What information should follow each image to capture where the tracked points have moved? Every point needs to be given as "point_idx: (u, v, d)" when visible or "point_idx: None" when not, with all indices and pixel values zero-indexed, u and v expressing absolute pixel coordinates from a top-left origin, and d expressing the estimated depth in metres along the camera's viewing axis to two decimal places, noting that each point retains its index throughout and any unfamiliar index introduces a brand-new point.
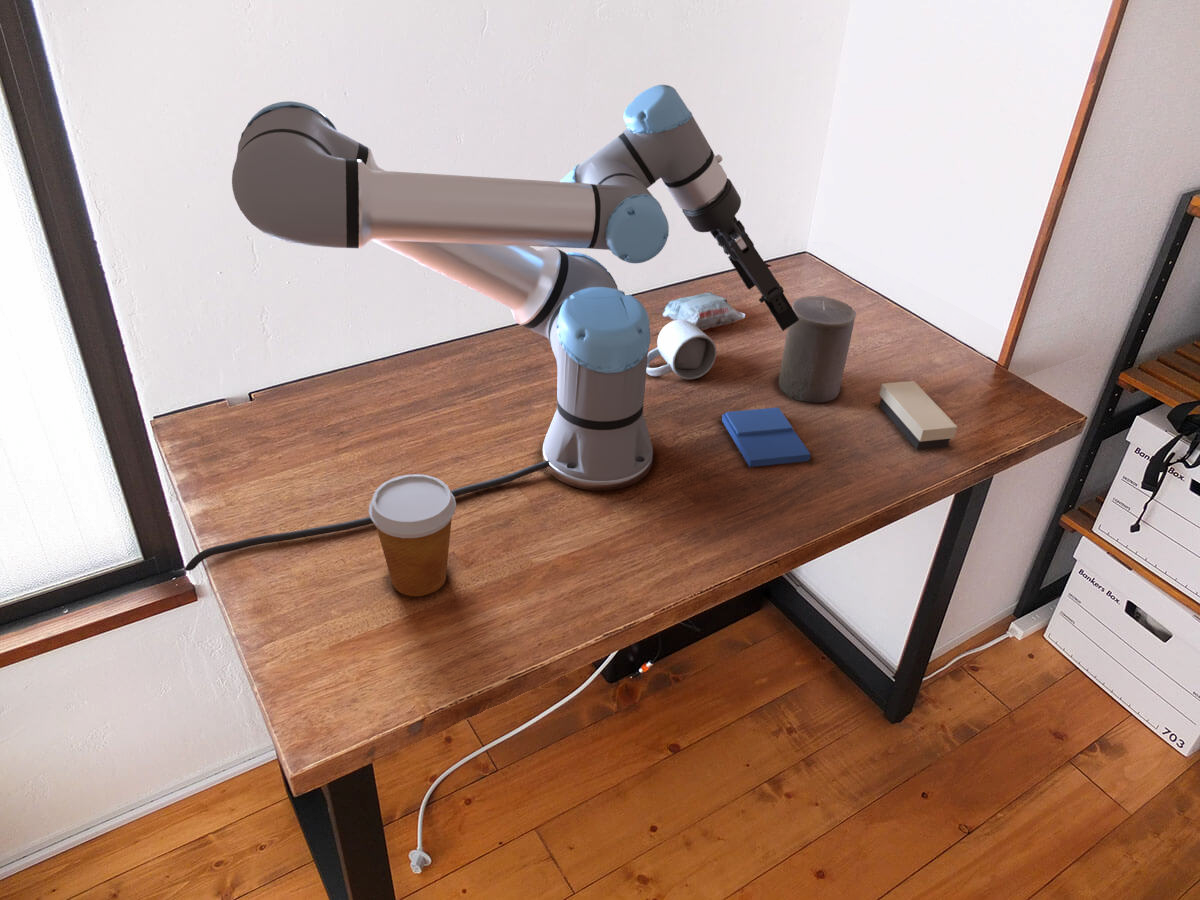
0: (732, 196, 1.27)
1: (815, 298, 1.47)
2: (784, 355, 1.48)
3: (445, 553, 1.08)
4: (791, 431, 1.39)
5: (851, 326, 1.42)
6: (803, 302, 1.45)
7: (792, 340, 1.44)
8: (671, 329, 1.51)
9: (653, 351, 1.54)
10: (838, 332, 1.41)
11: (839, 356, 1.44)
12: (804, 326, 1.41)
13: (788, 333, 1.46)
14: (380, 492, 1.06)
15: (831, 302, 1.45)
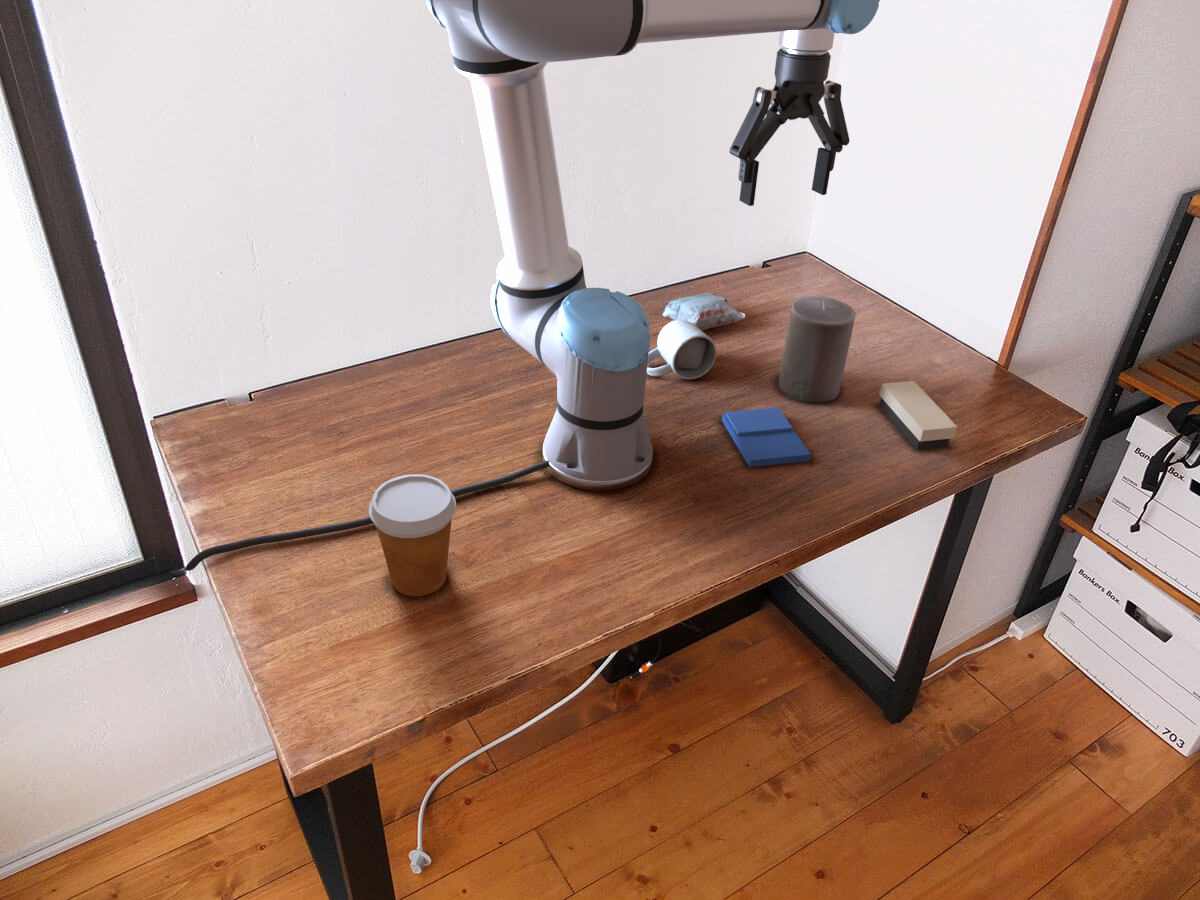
0: None
1: (815, 298, 1.47)
2: (784, 355, 1.48)
3: (445, 553, 1.08)
4: (791, 431, 1.39)
5: (851, 326, 1.42)
6: (803, 302, 1.45)
7: (792, 340, 1.44)
8: (671, 329, 1.51)
9: (653, 351, 1.54)
10: (838, 332, 1.41)
11: (839, 356, 1.44)
12: (804, 326, 1.41)
13: (788, 333, 1.46)
14: (380, 492, 1.06)
15: (831, 302, 1.45)
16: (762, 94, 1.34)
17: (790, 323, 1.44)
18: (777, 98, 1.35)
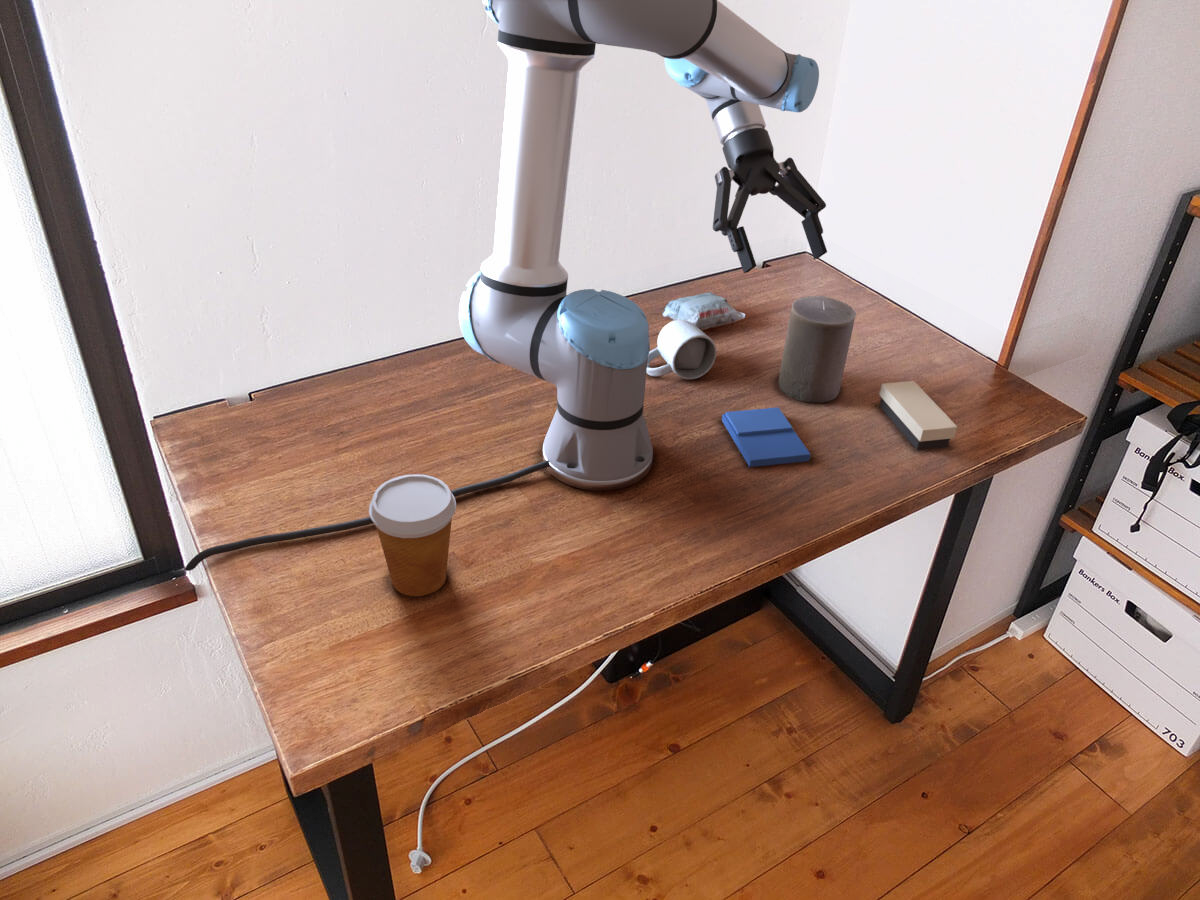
0: None
1: (815, 298, 1.47)
2: (784, 355, 1.48)
3: (445, 553, 1.08)
4: (791, 431, 1.39)
5: (851, 326, 1.42)
6: (803, 302, 1.45)
7: (792, 340, 1.44)
8: (671, 329, 1.51)
9: (653, 351, 1.54)
10: (838, 332, 1.41)
11: (839, 356, 1.44)
12: (804, 326, 1.41)
13: (788, 333, 1.46)
14: (380, 492, 1.06)
15: (831, 302, 1.45)
16: (720, 172, 1.47)
17: (790, 323, 1.44)
18: (736, 174, 1.48)
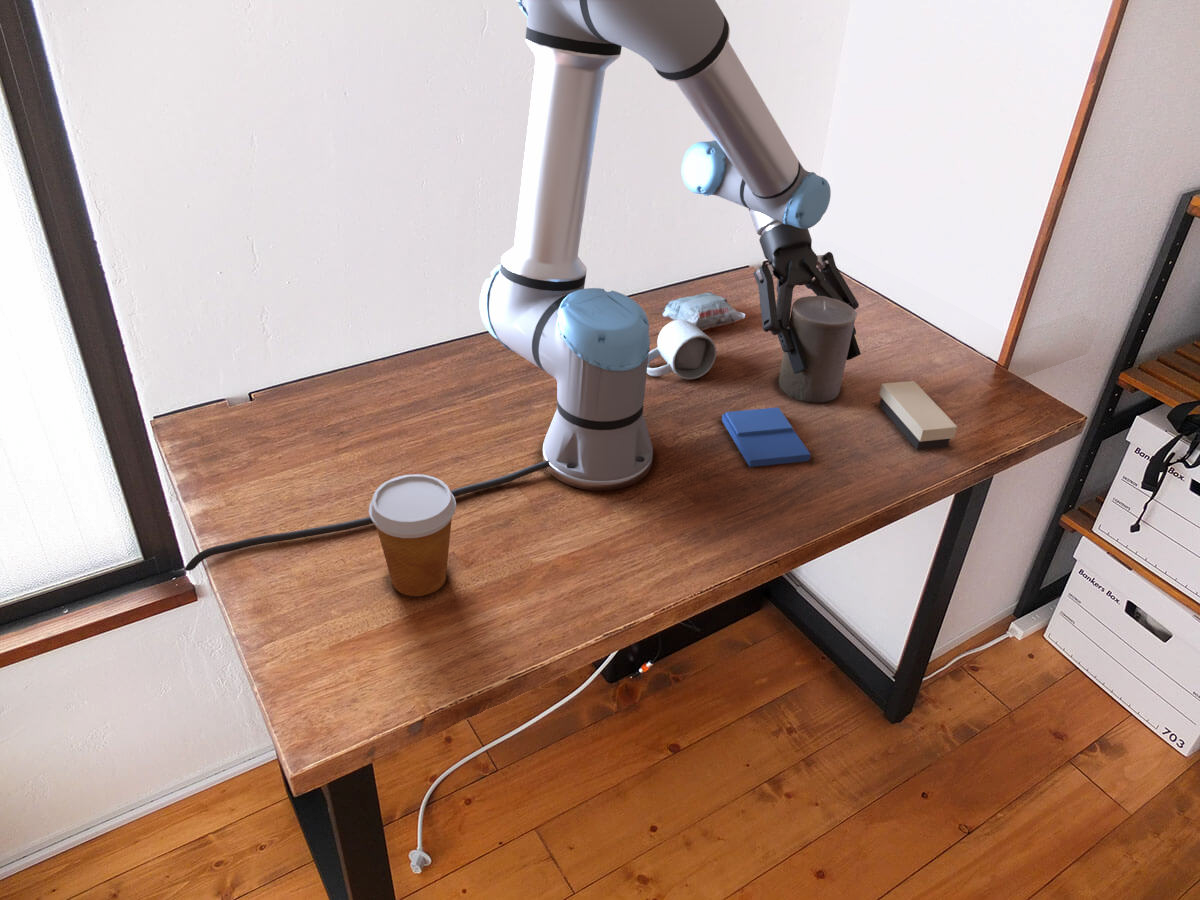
0: None
1: (816, 298, 1.47)
2: (784, 355, 1.48)
3: (445, 553, 1.08)
4: (791, 431, 1.39)
5: (851, 326, 1.42)
6: (803, 302, 1.45)
7: None
8: (671, 329, 1.51)
9: (653, 351, 1.54)
10: (839, 332, 1.41)
11: (839, 356, 1.44)
12: (804, 326, 1.41)
13: None
14: (380, 492, 1.06)
15: (832, 302, 1.45)
16: (760, 270, 1.44)
17: (791, 323, 1.44)
18: (774, 267, 1.45)
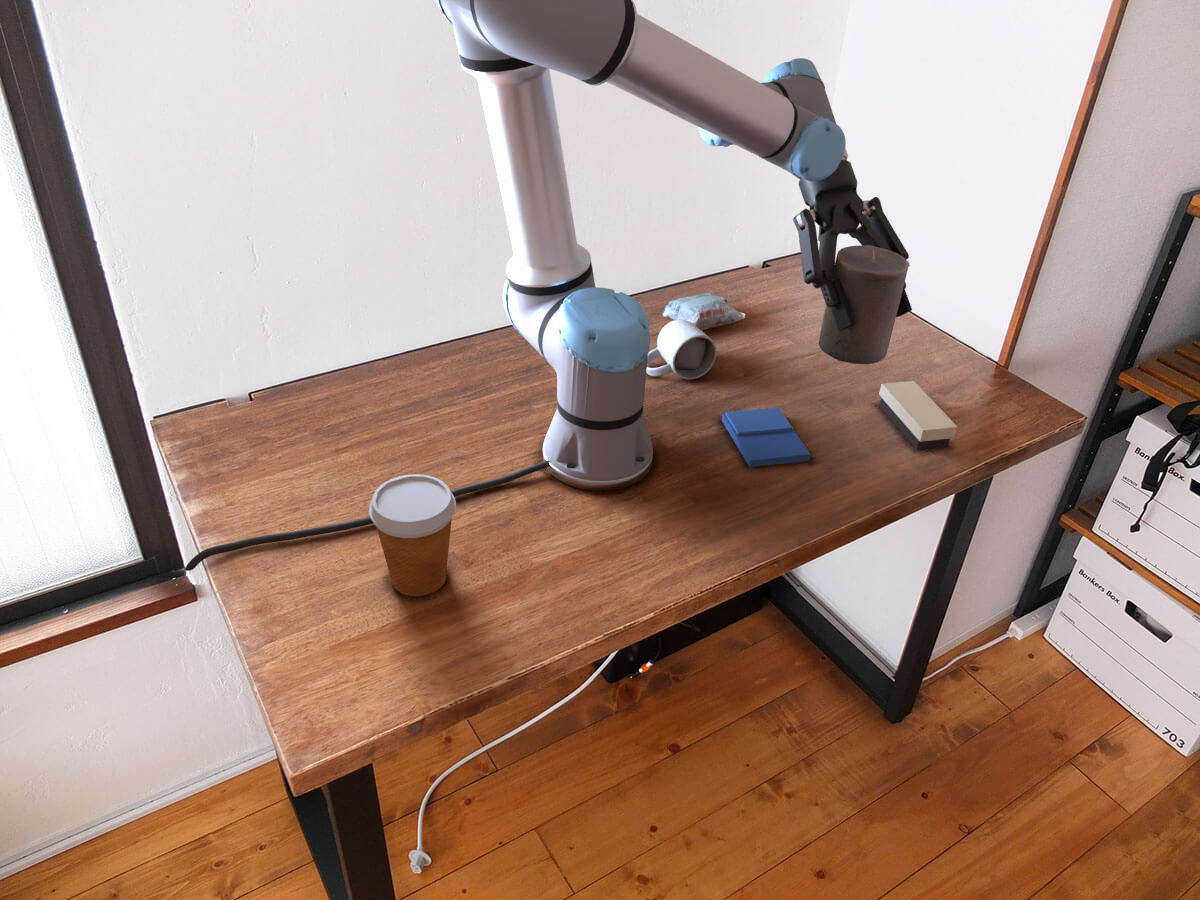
0: None
1: (862, 247, 1.31)
2: (827, 311, 1.33)
3: (445, 553, 1.08)
4: (791, 431, 1.39)
5: (904, 277, 1.27)
6: (849, 251, 1.30)
7: None
8: (671, 329, 1.51)
9: (653, 351, 1.54)
10: (890, 283, 1.26)
11: (890, 310, 1.28)
12: (852, 276, 1.26)
13: None
14: (380, 492, 1.06)
15: (880, 252, 1.30)
16: (801, 216, 1.29)
17: (835, 274, 1.29)
18: (816, 213, 1.30)
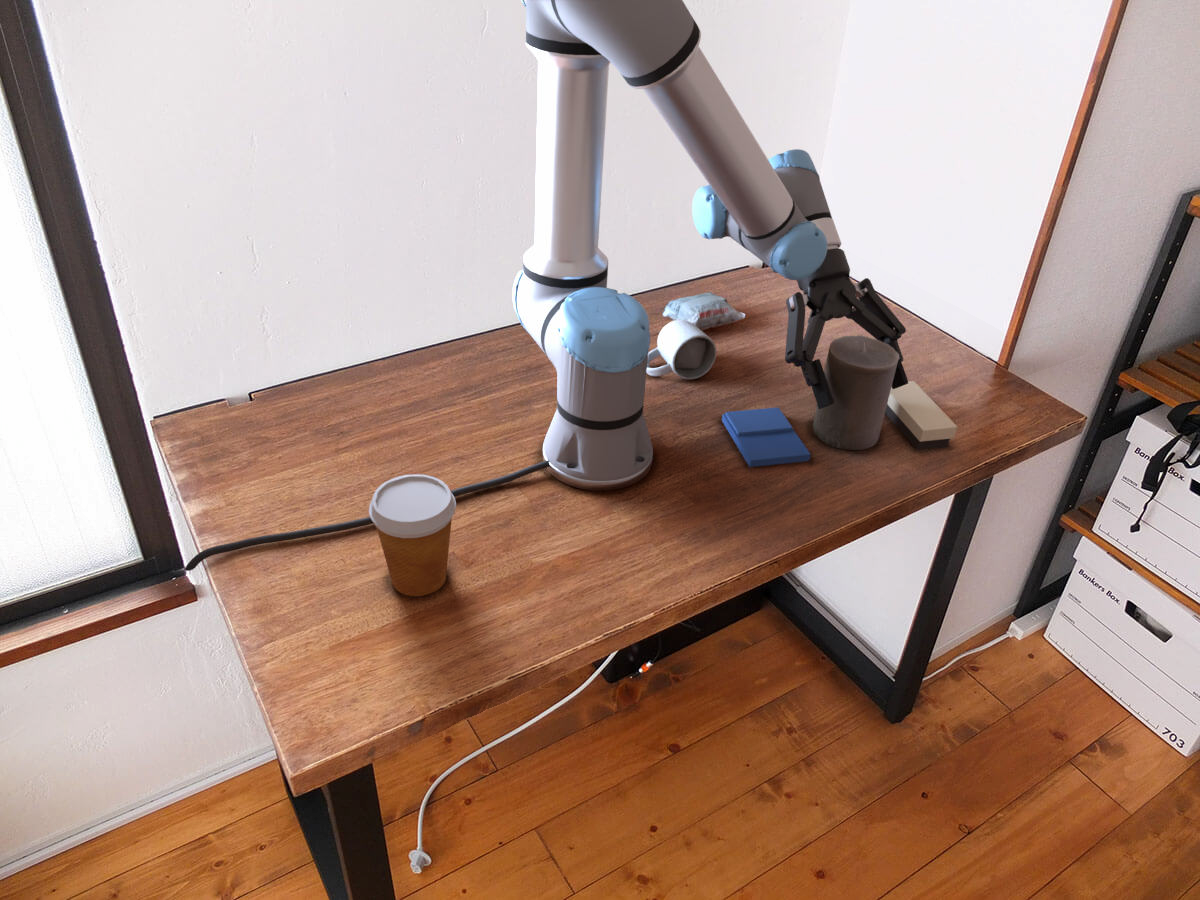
0: None
1: (854, 338, 1.36)
2: None
3: (445, 553, 1.08)
4: (791, 431, 1.39)
5: (894, 370, 1.32)
6: (841, 343, 1.35)
7: (830, 384, 1.34)
8: (671, 329, 1.51)
9: (653, 351, 1.54)
10: (880, 377, 1.31)
11: (880, 401, 1.33)
12: (843, 370, 1.31)
13: (825, 376, 1.35)
14: (380, 492, 1.06)
15: (871, 343, 1.35)
16: (793, 298, 1.33)
17: (827, 366, 1.34)
18: (810, 299, 1.34)
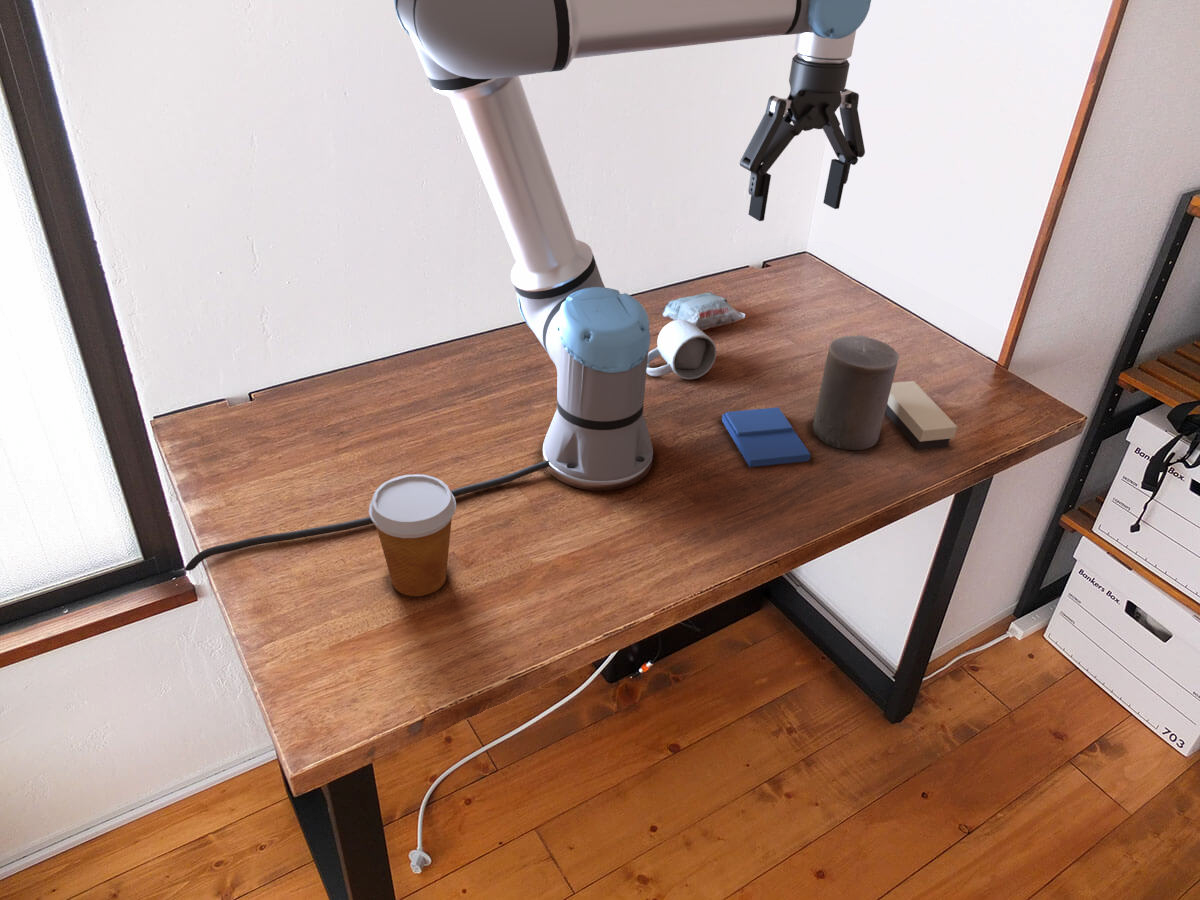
0: None
1: (854, 338, 1.36)
2: (820, 399, 1.38)
3: (445, 553, 1.08)
4: (791, 431, 1.39)
5: (894, 370, 1.32)
6: (841, 343, 1.35)
7: (829, 384, 1.34)
8: (671, 329, 1.51)
9: (653, 351, 1.54)
10: (880, 377, 1.31)
11: (880, 401, 1.33)
12: (843, 370, 1.31)
13: (825, 376, 1.35)
14: (380, 492, 1.06)
15: (871, 343, 1.35)
16: (776, 104, 1.26)
17: (827, 366, 1.34)
18: (792, 108, 1.27)
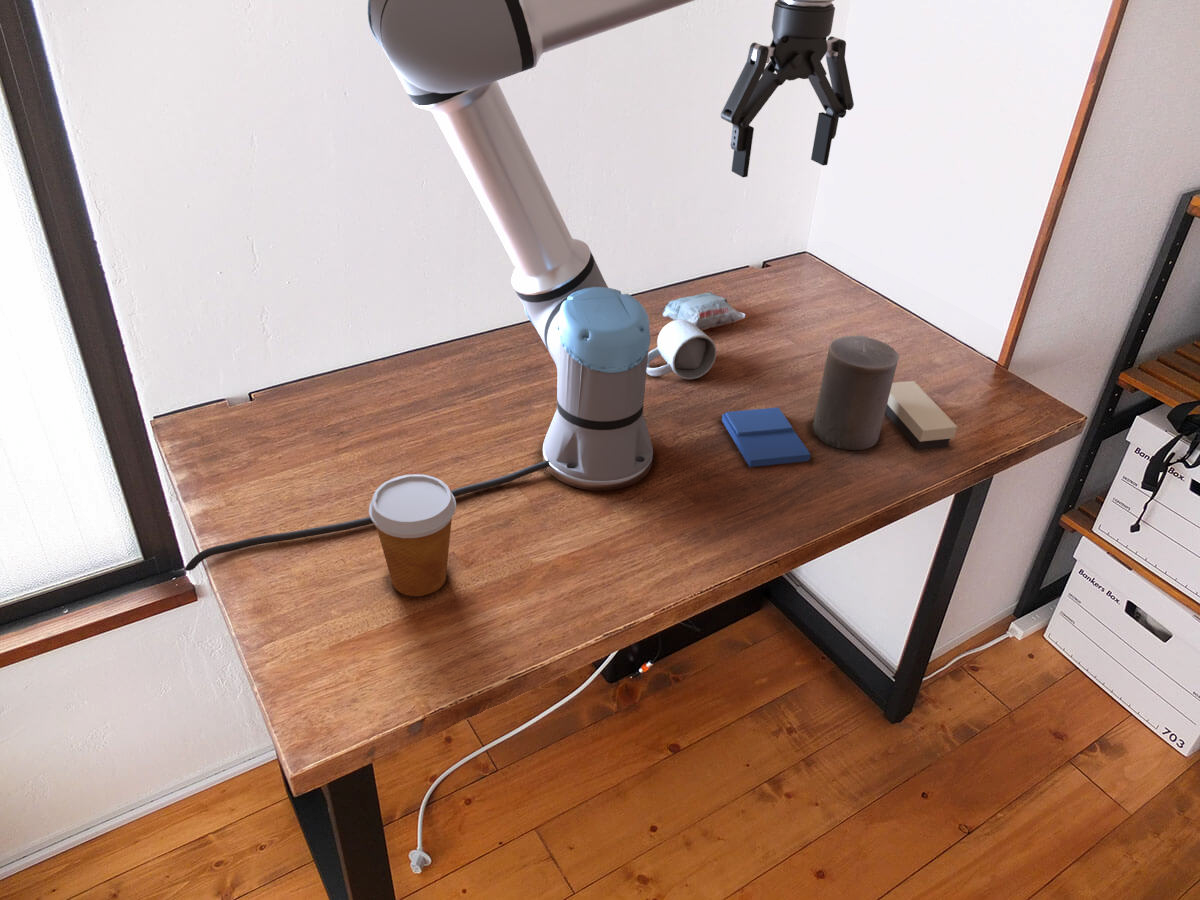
0: None
1: (854, 338, 1.36)
2: (820, 399, 1.38)
3: (445, 553, 1.08)
4: (791, 431, 1.39)
5: (894, 370, 1.32)
6: (841, 343, 1.35)
7: (829, 384, 1.34)
8: (671, 329, 1.51)
9: (653, 351, 1.54)
10: (880, 377, 1.31)
11: (880, 401, 1.33)
12: (843, 370, 1.31)
13: (825, 376, 1.35)
14: (380, 492, 1.06)
15: (871, 343, 1.35)
16: (758, 51, 1.19)
17: (827, 366, 1.34)
18: (774, 55, 1.21)
